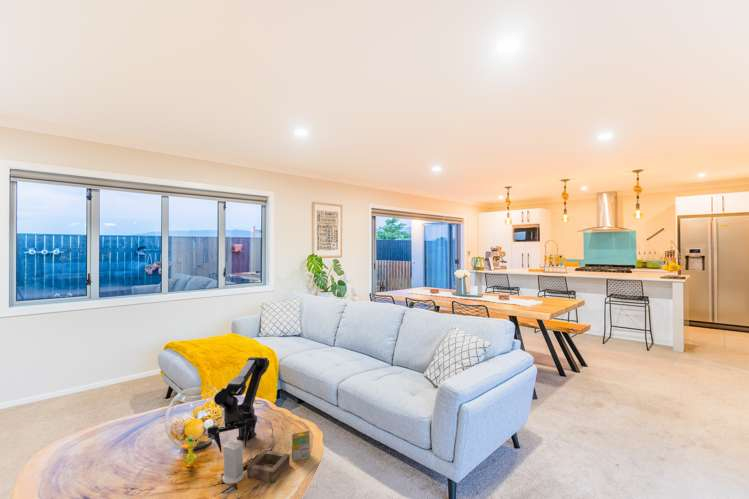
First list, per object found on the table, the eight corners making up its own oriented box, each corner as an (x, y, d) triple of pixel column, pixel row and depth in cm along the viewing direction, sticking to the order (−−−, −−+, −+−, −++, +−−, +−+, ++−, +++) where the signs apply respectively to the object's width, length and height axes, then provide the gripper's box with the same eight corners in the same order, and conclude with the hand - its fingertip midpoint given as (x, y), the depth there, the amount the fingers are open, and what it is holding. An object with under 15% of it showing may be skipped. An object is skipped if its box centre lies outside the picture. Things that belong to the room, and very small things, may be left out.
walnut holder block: (247, 478, 142) (246, 466, 142) (264, 460, 154) (264, 449, 154) (273, 483, 139) (273, 472, 139) (289, 464, 151) (289, 454, 150)
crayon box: (308, 453, 158) (308, 427, 158) (310, 457, 156) (309, 430, 155) (291, 457, 156) (291, 430, 156) (292, 461, 153) (292, 434, 153)
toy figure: (178, 469, 148) (177, 440, 148) (182, 463, 152) (182, 435, 152) (195, 468, 149) (194, 439, 148) (199, 463, 152) (198, 435, 152)
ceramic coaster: (217, 481, 140) (217, 480, 140) (231, 469, 148) (231, 467, 148) (235, 485, 138) (235, 484, 138) (248, 472, 146) (248, 471, 146)
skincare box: (243, 473, 144) (243, 444, 144) (235, 480, 140) (235, 449, 140) (231, 470, 146) (230, 441, 146) (223, 476, 142) (223, 446, 142)
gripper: (207, 408, 148) (207, 448, 138) (254, 399, 156) (258, 437, 146) (207, 418, 155) (208, 457, 146) (253, 409, 163) (256, 446, 153)
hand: (233, 449), depth 147 cm, fingers open, 9 cm apart
